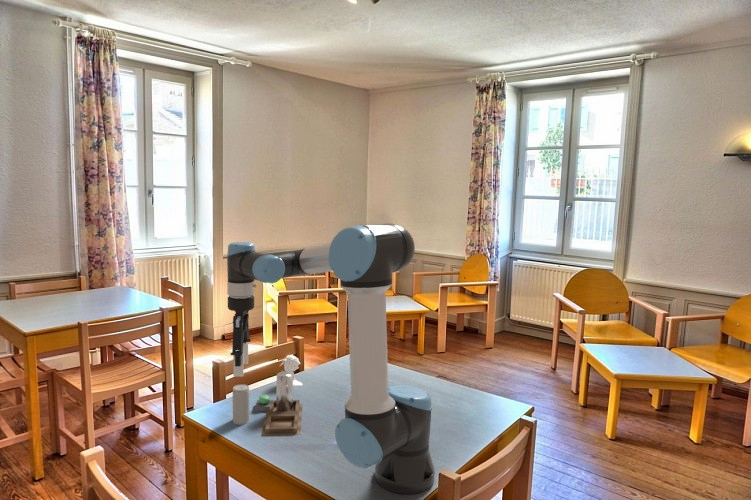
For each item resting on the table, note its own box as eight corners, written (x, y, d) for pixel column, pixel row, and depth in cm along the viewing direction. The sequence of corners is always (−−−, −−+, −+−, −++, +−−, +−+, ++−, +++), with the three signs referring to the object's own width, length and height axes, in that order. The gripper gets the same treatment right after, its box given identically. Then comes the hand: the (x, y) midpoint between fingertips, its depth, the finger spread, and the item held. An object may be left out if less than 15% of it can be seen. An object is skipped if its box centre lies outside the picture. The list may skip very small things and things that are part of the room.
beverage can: (238, 430, 149) (238, 392, 148) (229, 425, 153) (229, 387, 151) (252, 425, 153) (252, 387, 151) (243, 419, 156) (243, 382, 155)
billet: (292, 414, 158) (292, 377, 156) (275, 414, 157) (276, 377, 156) (292, 407, 163) (293, 371, 161) (277, 407, 162) (277, 371, 160)
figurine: (271, 388, 180) (271, 356, 178) (289, 381, 187) (290, 349, 185) (289, 395, 175) (290, 362, 173) (307, 387, 182) (308, 355, 180)
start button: (268, 403, 160) (269, 399, 160) (258, 403, 160) (258, 399, 159) (269, 399, 163) (270, 395, 163) (259, 399, 163) (259, 395, 163)
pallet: (300, 439, 146) (300, 429, 146) (248, 440, 144) (248, 430, 144) (302, 408, 166) (302, 399, 165) (257, 408, 164) (257, 399, 164)
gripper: (249, 304, 137) (249, 384, 140) (258, 287, 158) (258, 356, 162) (220, 304, 136) (221, 384, 139) (234, 287, 158) (234, 356, 161)
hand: (241, 369), depth 150 cm, fingers open, 9 cm apart
